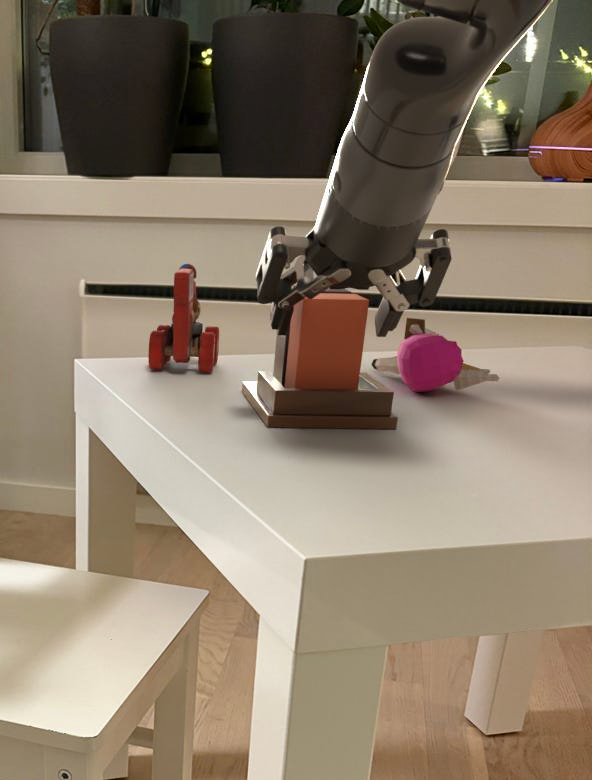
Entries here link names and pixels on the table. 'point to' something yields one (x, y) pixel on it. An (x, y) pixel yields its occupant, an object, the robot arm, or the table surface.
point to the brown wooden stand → (318, 398)
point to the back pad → (326, 342)
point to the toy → (431, 361)
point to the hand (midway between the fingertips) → (329, 327)
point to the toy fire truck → (184, 329)
